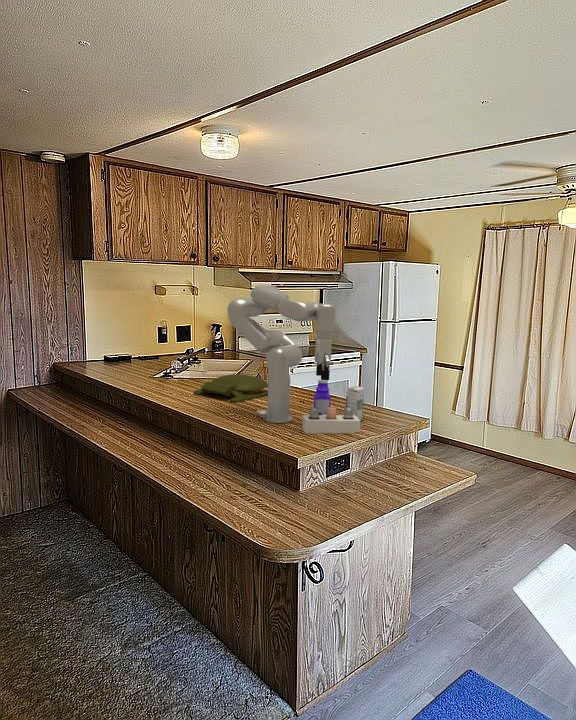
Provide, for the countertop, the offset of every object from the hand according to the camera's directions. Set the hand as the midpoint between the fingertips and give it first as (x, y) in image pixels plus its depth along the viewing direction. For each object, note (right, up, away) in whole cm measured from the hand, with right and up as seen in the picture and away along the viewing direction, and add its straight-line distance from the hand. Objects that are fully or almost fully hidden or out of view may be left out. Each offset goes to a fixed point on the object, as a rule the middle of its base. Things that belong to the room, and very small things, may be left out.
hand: (322, 377), depth 215 cm
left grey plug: (-3, -17, +1) cm, 18 cm away
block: (+3, -21, +2) cm, 21 cm away
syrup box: (+15, -19, +19) cm, 31 cm away
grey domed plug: (+10, -18, +2) cm, 21 cm away
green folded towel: (-41, -11, +67) cm, 80 cm away
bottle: (+1, -19, +19) cm, 27 cm away
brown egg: (+4, -18, +1) cm, 18 cm away
